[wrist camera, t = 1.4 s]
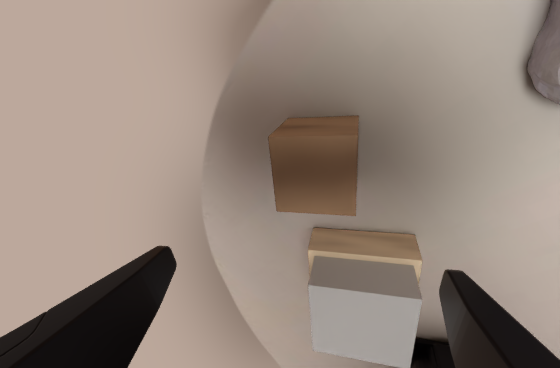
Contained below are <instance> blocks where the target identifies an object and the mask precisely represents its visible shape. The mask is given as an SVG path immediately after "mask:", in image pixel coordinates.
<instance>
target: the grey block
mask: <svg viewBox="0 0 560 368" xmlns="http://www.w3.org/2000/svg"><path fill="white" fill-rule="evenodd" d="M308 290H309V305H310V319H311V333H312V347H313V351H317V352H322V353H327V354H332V355H337V356H342V357H347V358H352V359H357V360H362V361H367V362H373V363H378V364H383V365H388V366H393V367H398V368H410V365H411V360H412V354H413V349H414V343H415V337H416V332H417V326H418V321H419V315H420V310H421V304H422V297H421V293H420V289H419V285H418V281H417V277H416V273H415V269H414V265H404V264H394V263H384V262H374V261H364V260H354V259H343V258H333V257H323V256H314V261H313V265H312V270H311V274H310V279H309V283H308Z"/></svg>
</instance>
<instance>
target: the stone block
mask: <svg viewBox="0 0 560 368" xmlns="http://www.w3.org/2000/svg"><path fill="white" fill-rule="evenodd" d="M527 71H528V73H529V74H530V76H531V79H532V81H533V85H534V87H535V88H536V90H537V91H538V92H540V93H541V94H542V95H543V96H544V97H546V98H549V99H550V100H552V101H554V102H555V103H557V104H559V105H560V0H551V6H550V10H549V14H548V17H547V19H546V21H545V23H544V25H543V27H542V29H541V31H540V33H539V34H538V36H537V38H536V40H535V43H534V46H533V50H532V54H531V57H530V60H529V62H528V70H527Z"/></svg>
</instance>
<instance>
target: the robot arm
mask: <svg viewBox="0 0 560 368" xmlns="http://www.w3.org/2000/svg"><path fill="white" fill-rule="evenodd" d="M175 270H176V260H175V258H174V255H173V253H172V250H171V249H170V247H168V246H157V247H155V248H153V249H152V250H150V251H148V252H147V253H145V254H143V255H142V256H140V257H138V258H136V259H135V260H133V261H131V262H129V263H128V264H126V265H124V266H123V267H121V268H119V269H117V270H116V271H114V272H112V273H111V274H109V275H107V276H106V277H104V278H102V279H100V280H99V281H97V282H95V283H94V284H92V285H90V286H88V287H87V288H85V289H84V290H82V291H80V292H78V293H77V294H75V295H73V296H71V297H70V298H68V299H66V300H65V301H63V302H61V303H60V304H58V305H56V306H54V307H53V308H51V309H49V310H48V311H47V312H44V313H42V314H41V315H39V316H37V317H36V318H34V319H32V320H30V321H29V322H27V323H25V324H23V325H22V326H20V327H18V328H17V329H15V330H13V331H11V332H9V333H8V334H6V335H4V336H2V337H0V368H128V366H129V364H130V362H131V360H132V358H133V356H134V354H135V353H136V351H137V349H138V347H139V345H140V343H141V341H142V340H143V338H144V336H145V334H146V332H147V330H148V328H149V327H150V325H151V323H152V321H153V319H154V317H155V315H156V313H157V311H158V309H159V307H160V305H161V303H162V301H163V298H164V296H165V294H166V291H167V289H168V286H169V284H170V282H171V279H172V277H173V275H174V272H175ZM439 295H440V301H441V306H442V311H443V316H444V321H445V326H446V331H447V336H448V341H449V344H448V343H442V342H436V341H430V340H424V339H418V338H415V343H414V349H413V354H412V360H411V365H410V368H560V360H559V359H558V358H557V357H556V356H555V355H554V354H553V353H552V352H551V351H550V350H548V349H547V348H546V347H545V346H544V345H543V344H542V343H541V342H540V341H539V340H538V339H536V338H535V337H534V336H533V335H532V334H531V333H530V332H529V331H528V330H527V329H526V328H524V327H523V326H522V325H521V324H520V323H519V322H518V321H517V320H516V319H515V318H514V317H512V316H511V315H510V314H509V313H508V312H507V311H506V310H505V309H504V308H503V307H501V306H500V305H499V304H498V303H497V302H496V301H495V300H494V299H493V298H492V297H491V296H489V295H488V294H487V293H486V292H485V291H484V290H483V289H482V288H481V287H480V286H479V285H477V284H476V283H475V282H474V281H473V280H472V279H471V278H470V277H469V276H468V275H466V274H465V273H464V272H463V271H460V270H449V269H448V270H445V272H444V274H443V278H442V281H441V285H440V289H439Z"/></svg>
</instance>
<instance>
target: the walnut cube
mask: <svg viewBox="0 0 560 368" xmlns="http://www.w3.org/2000/svg"><path fill="white" fill-rule="evenodd" d="M358 124H359V116H335V117H310V118H288V119H287V120H286V121H285V122H284V123H283V124H281V125H280V126H279V127H278V128H277V129H276V130H275V131H274V132H273V133H272V134H271V135H270V136H269V137H268V140H269V149H270V158H271V167H272V175H273V184H274V193H275V201H276V210H277V211H279V212H296V213H313V214H330V215H347V216H356V191H357V159H358Z"/></svg>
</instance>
